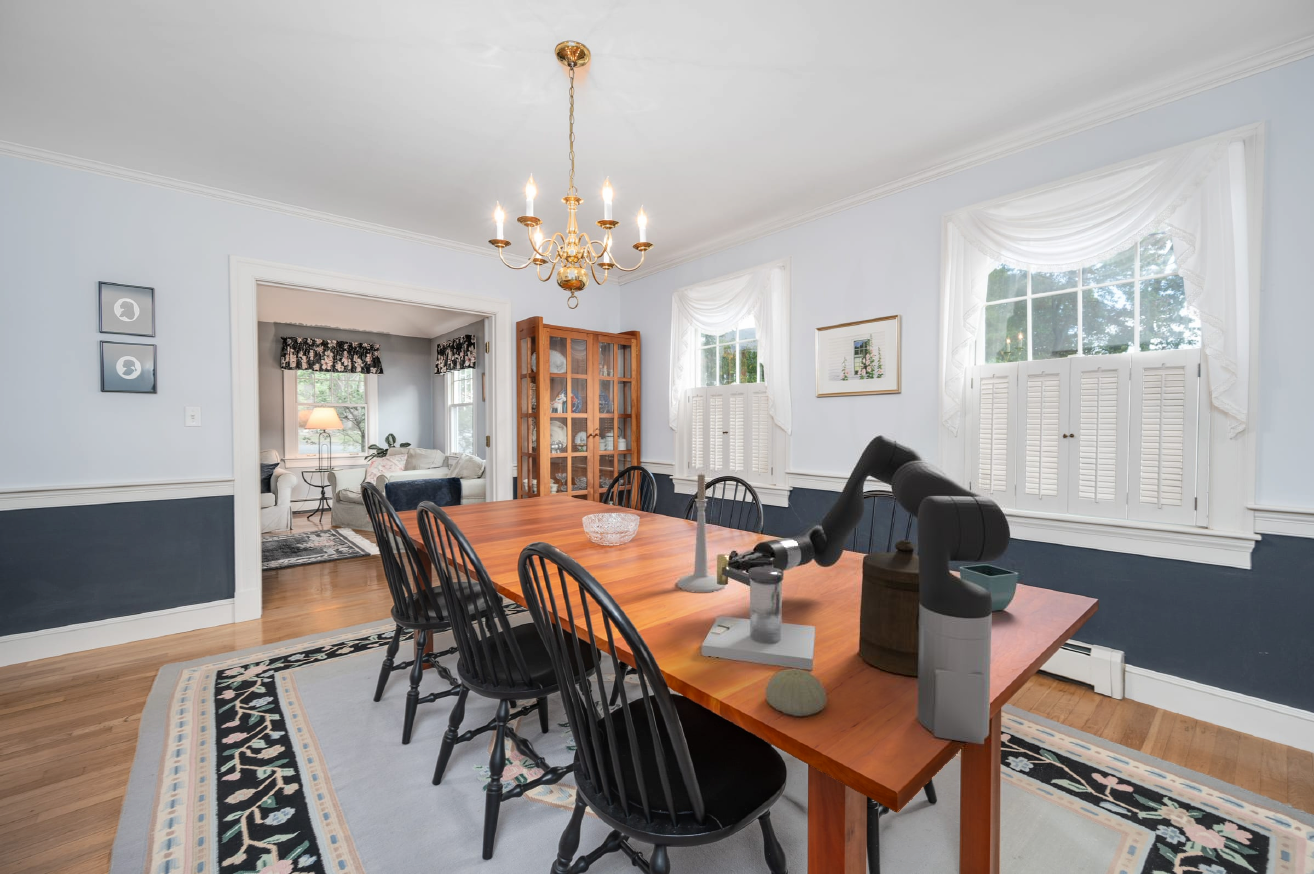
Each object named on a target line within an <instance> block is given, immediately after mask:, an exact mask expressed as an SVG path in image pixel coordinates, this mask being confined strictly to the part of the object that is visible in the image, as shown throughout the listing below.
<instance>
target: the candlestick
mask: <svg viewBox="0 0 1314 874" xmlns="http://www.w3.org/2000/svg"><path fill="white" fill-rule="evenodd" d="M708 500H709V499H708V498H707V499H706V474H704V473H700V474H699V473H698V474H697V498H695V499H694V501H695V502H696V504H695V505H696V507H697V514H696V515H697V519H696V520H697V521H696V533H695V534H696V536H695V551H694V552H695V556H694V571H693V573H690V574H686V575H683V576H682V577H680V578H679V579H678V580H677V581H676V586H677V588H679V587H680V588H681V589H680V588H679V589H680V590H682V589H684V590H683V591H685V590H687V591H686V592H689V591H694V592H693V593H697V592H709V593H715V592H714V591H716V592H719V590H720V591H721V590H724V589H725V588H724V587H726V585H719V584H717V575H713V574H710V573H709V570H708V552H707V551H708V550H707V529H706V513H705V509H706V507H707V502H708ZM712 591H713V592H712Z"/></svg>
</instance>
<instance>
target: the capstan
mask: <svg viewBox="0 0 1314 874" xmlns="http://www.w3.org/2000/svg"><path fill="white" fill-rule="evenodd" d="M728 561H729V555H728V554H726V553H725V554H724V553H722V554H721V553H719V554H716V576H717V584H719V585H725V586H726V585H729V579H731V580H734V581H736V582H738V583H741V584H743V585H746V586H749V619H750V637H751V638H752V639H754V640H757V641H761V642H776V641H779V640H780V639H781V624H782V623H783V622H782V621H783V620H782V617H783V615H782V613H783V612H782V610H783V609H782V603H783V601H782V599H783V598H782V597H783V596H782V595H783V591H782V590H783V589H782V588H783V580H784V575H785V574H784V573H785V571H782V570H780V569H777V568H772V567H754V568H751V569H749V573H746V572H745V571H739V570H736V569H734V568H731V567H729V566H728Z"/></svg>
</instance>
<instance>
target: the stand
mask: <svg viewBox="0 0 1314 874" xmlns="http://www.w3.org/2000/svg"><path fill="white" fill-rule="evenodd" d="M815 641H816V626H814V625H813V626H812V625H803V624H802V625H801V624H795V623H784V622H782V624H781V639H780V640H779V641H776V642H761V641H757V640H754V639H752V638H751V637H750V618H749V619H748V618H741V617H740V618H738V617H730V616H720V615H718V616H717V617H716V619H715V621H714V623H713V625H712V627H711V628H710V630H709V632H708V633H707V635H706V636H705V638H704V640H703V642H702V644H701V656H702V655H703V656H702V657H708V656H711V657H710V658H716V657H719V658H718V659H725V660H732V661H733V660H734V661H740V662H748V663H755V664H760V665H761V664H764V665H770V666H778V667H786V668H791V669H799V670H806V671H813V668H814V667H813V666H814V656H815V654H814V653H815Z"/></svg>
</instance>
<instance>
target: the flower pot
mask: <svg viewBox="0 0 1314 874" xmlns="http://www.w3.org/2000/svg"><path fill="white" fill-rule="evenodd" d="M958 569H959V574H960V577H959V578H961V579H963V580H966V581H969V582H972V583H974V584H977V585H979V586H981V587H983V588H984V589H986V590H987V591H988V592H989V593H990V595H991V598H992V612H995V611H1002V610H1005V609H1007V608H1008V606H1009V605H1010V604H1011V602H1012V601H1013V600H1014V597H1015V595H1016V590H1017V584H1018V579H1019V573H1018V572H1016V571H1012V570H1008V569H1005V568H1002V567H998V566H995V565H991V564H986V563H985V564H976V565H975V564H974V565H968V566H959V567H958Z"/></svg>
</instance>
